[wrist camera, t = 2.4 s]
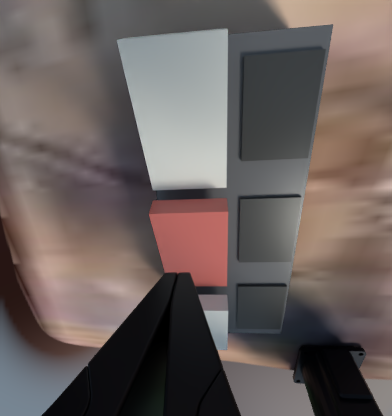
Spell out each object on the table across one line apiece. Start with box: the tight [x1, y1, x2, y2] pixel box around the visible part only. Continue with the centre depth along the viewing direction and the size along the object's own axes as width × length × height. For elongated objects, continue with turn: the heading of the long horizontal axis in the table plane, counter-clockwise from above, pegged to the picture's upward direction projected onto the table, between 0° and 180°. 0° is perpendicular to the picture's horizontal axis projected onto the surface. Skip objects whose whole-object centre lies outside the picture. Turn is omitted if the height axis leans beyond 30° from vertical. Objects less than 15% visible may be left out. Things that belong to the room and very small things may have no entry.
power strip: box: [156, 24, 333, 334], centre depth 15 cm, size 19×8×5 cm, turn 4°
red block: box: [149, 198, 228, 286], centre depth 13 cm, size 6×4×1 cm, turn 3°
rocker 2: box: [198, 295, 228, 350], centre depth 16 cm, size 6×4×1 cm, turn 3°
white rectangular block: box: [117, 28, 228, 190], centre depth 10 cm, size 6×4×1 cm, turn 3°
